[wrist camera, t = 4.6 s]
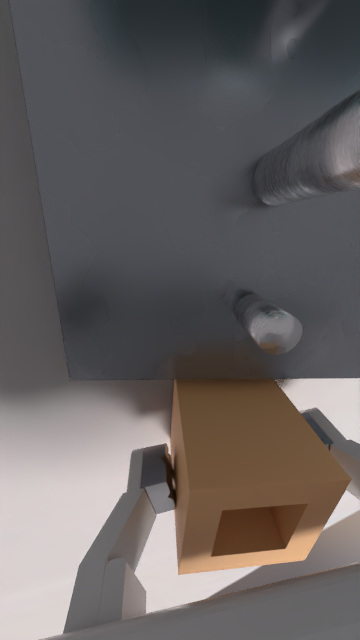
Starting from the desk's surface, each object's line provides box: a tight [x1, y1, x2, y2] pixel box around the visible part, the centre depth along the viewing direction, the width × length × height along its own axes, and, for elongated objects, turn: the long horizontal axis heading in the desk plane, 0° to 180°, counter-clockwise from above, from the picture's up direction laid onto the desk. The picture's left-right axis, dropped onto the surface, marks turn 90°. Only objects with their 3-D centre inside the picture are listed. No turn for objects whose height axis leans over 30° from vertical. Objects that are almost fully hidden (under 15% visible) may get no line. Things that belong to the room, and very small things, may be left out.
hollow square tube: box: [170, 379, 352, 575], centre depth 9 cm, size 5×5×5 cm
